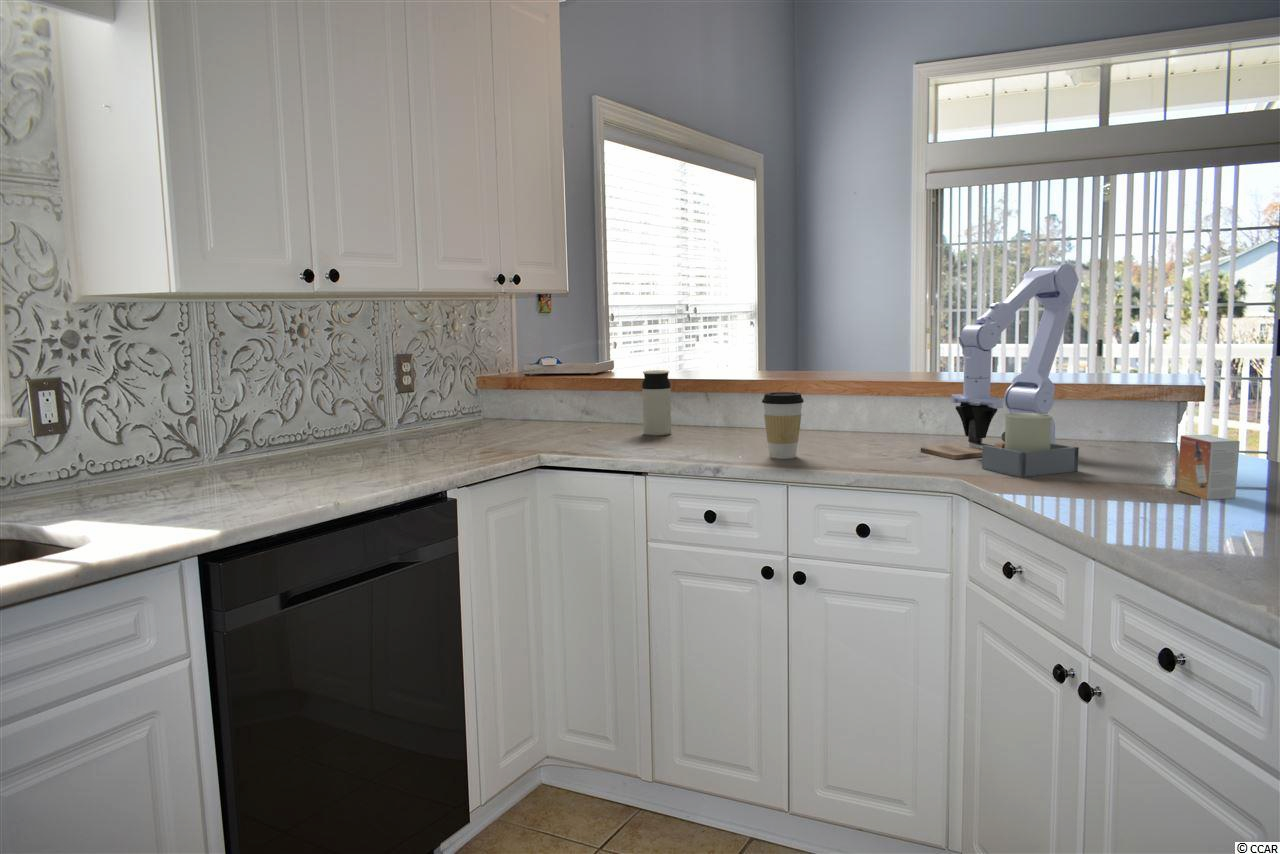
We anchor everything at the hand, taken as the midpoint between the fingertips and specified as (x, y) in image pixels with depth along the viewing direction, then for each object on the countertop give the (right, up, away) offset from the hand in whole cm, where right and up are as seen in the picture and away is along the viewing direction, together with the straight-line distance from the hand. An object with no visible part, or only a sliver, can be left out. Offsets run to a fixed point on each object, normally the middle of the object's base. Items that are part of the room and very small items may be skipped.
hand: (975, 437), depth 204 cm
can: (+6, -7, -14) cm, 16 cm away
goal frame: (+6, -7, -14) cm, 17 cm away
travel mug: (-72, 0, +51) cm, 88 cm away
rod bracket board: (-2, -4, +7) cm, 8 cm away
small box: (+26, -10, -42) cm, 50 cm away
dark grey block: (+2, -5, -4) cm, 7 cm away
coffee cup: (-43, -5, +9) cm, 44 cm away
